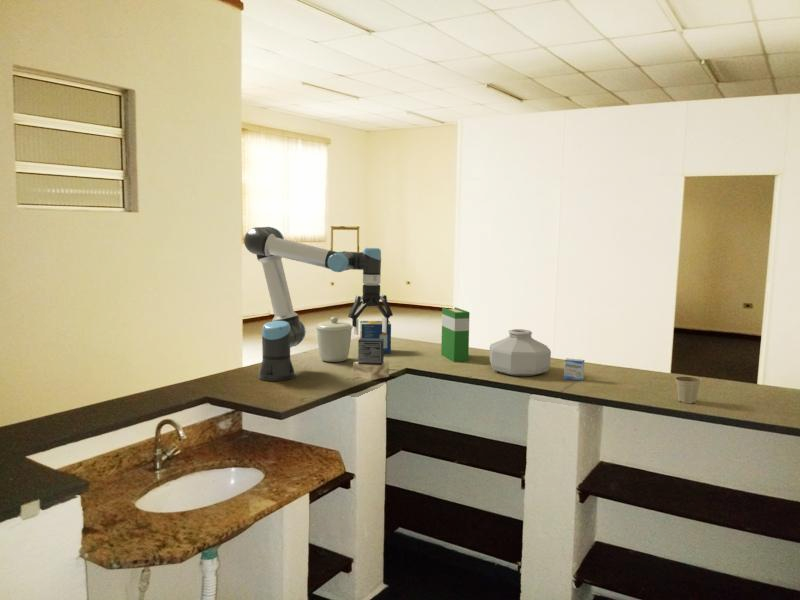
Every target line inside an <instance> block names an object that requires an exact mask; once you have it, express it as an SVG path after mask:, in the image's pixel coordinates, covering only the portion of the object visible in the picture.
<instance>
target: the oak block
mask: <svg viewBox="0 0 800 600" xmlns="http://www.w3.org/2000/svg"><path fill="white" fill-rule="evenodd" d="M352 366H353V367H352V369H353V371H352V373H353V374H352V375H353V376H355V377H359V378H362V379H366V380H369V381H374V380H378V379H383V378H384V379H385V378H388V377H390V374H389V372H390V371H389V370H390V368H389V367H390V363H388V362H387V363H386V362H385V361H384V362H383V364H382V365H380V364H358V361H353V364H352Z"/></svg>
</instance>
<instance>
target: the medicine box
mask: <svg viewBox="0 0 800 600" xmlns="http://www.w3.org/2000/svg"><path fill="white" fill-rule="evenodd" d="M584 372H585V359H580V358H579V359H578V358H577V359H575V358H565V359H564V370H563V380H565V381H576V382H582V381H583V380H584V377H585V375H584V374H585V373H584Z"/></svg>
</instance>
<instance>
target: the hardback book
mask: <svg viewBox="0 0 800 600" xmlns="http://www.w3.org/2000/svg"><path fill="white" fill-rule="evenodd" d="M441 308H442V309H441V351H440V352H441V353H440V354H441V356H443V357H444V358H446V359H448V360H449V361H452V362H453V363H464V362H469V356H470V355H469V348H470V343H469V342H470V314H471V313H470V312H469V311H467V310H465V309H462V308H459V307H455V306H454V307H453V308H445V307H441Z"/></svg>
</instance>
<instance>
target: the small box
mask: <svg viewBox="0 0 800 600" xmlns="http://www.w3.org/2000/svg"><path fill="white" fill-rule="evenodd" d="M357 343H358V345H357V346H358V349H357V350H358V361H357V362H358V364H380V365H382V364H383V362H384V363H385V361H384V360H385V359H384V356H385V354H384V339H373V338H359V339H358V342H357Z"/></svg>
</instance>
